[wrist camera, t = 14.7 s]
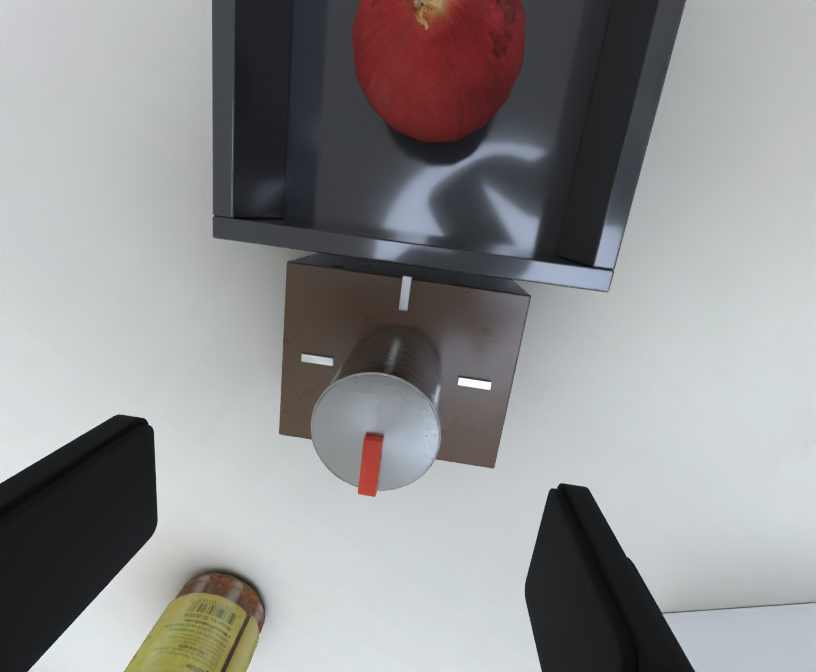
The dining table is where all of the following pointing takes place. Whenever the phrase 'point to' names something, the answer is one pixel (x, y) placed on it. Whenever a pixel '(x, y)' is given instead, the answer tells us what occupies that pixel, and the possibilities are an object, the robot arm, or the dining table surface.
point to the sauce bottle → (204, 629)
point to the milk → (748, 638)
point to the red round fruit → (438, 62)
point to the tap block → (417, 310)
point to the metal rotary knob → (382, 412)
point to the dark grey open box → (438, 143)
